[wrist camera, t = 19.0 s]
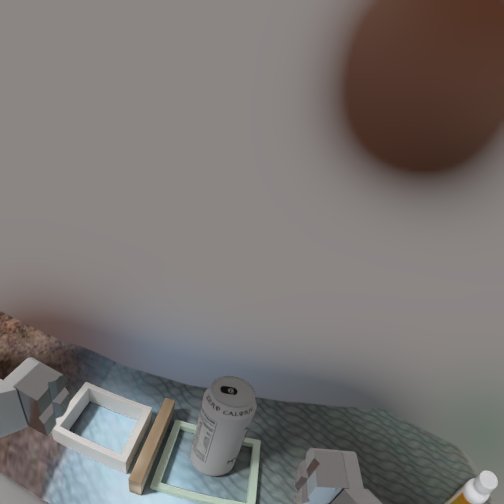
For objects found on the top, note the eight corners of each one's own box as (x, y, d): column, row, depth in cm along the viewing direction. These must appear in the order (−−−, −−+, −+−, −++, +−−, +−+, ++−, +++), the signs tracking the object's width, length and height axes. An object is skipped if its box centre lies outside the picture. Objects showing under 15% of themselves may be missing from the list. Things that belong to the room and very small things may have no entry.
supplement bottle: (460, 528, 24) (501, 494, 21) (435, 523, 26) (476, 488, 23) (463, 506, 28) (500, 470, 26) (439, 499, 31) (476, 464, 28)
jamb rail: (129, 491, 27) (128, 479, 26) (163, 412, 43) (165, 397, 42) (141, 495, 27) (140, 483, 26) (172, 415, 43) (175, 400, 42)
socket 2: (150, 488, 29) (150, 485, 29) (175, 423, 41) (175, 419, 41) (252, 513, 29) (254, 510, 28) (259, 444, 41) (260, 440, 41)
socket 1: (54, 440, 30) (50, 427, 29) (87, 394, 40) (86, 381, 40) (126, 473, 30) (125, 462, 29) (151, 420, 40) (152, 407, 40)
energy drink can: (233, 481, 33) (262, 413, 29) (187, 475, 33) (204, 405, 28) (232, 449, 39) (258, 377, 35) (191, 442, 38) (207, 368, 34)
